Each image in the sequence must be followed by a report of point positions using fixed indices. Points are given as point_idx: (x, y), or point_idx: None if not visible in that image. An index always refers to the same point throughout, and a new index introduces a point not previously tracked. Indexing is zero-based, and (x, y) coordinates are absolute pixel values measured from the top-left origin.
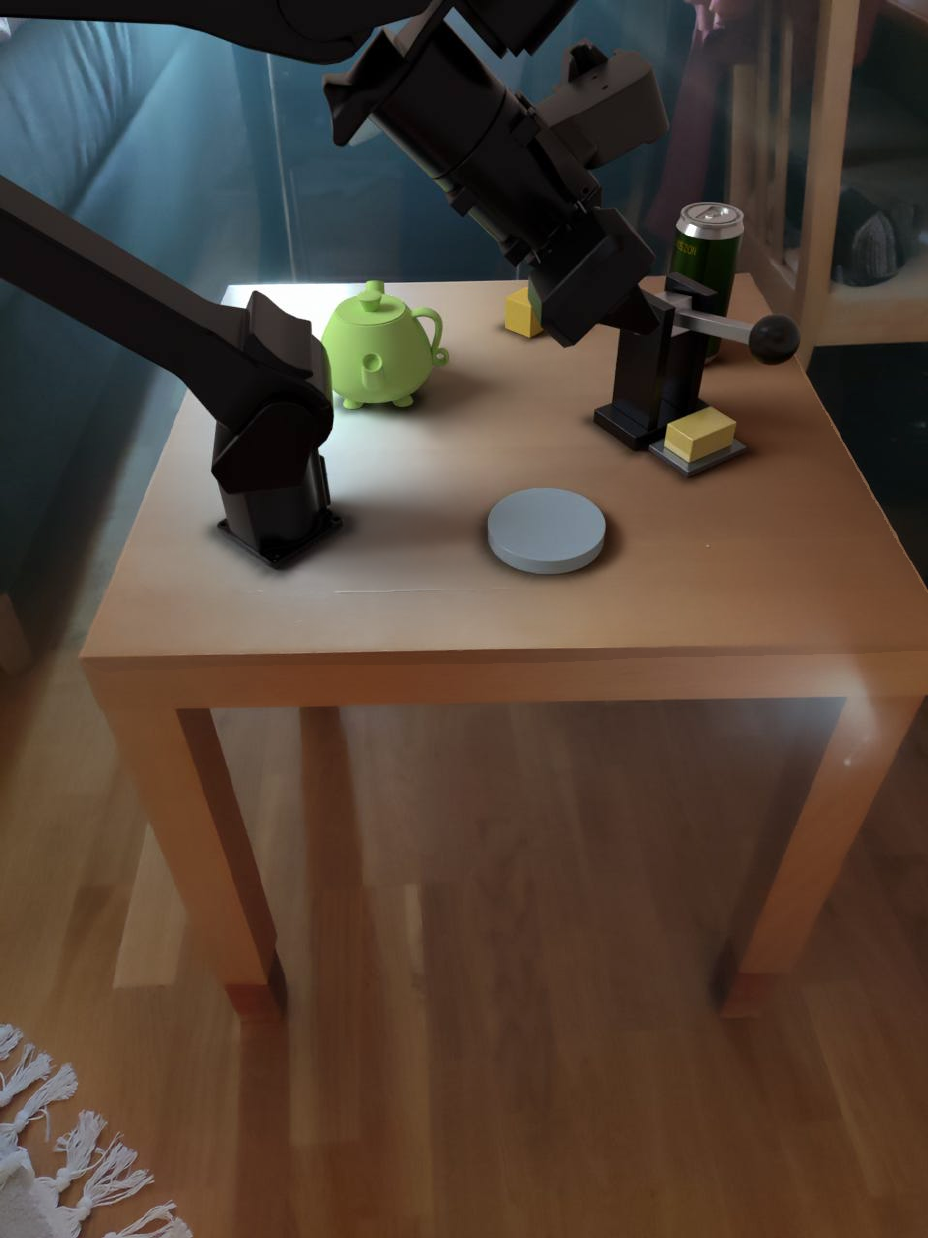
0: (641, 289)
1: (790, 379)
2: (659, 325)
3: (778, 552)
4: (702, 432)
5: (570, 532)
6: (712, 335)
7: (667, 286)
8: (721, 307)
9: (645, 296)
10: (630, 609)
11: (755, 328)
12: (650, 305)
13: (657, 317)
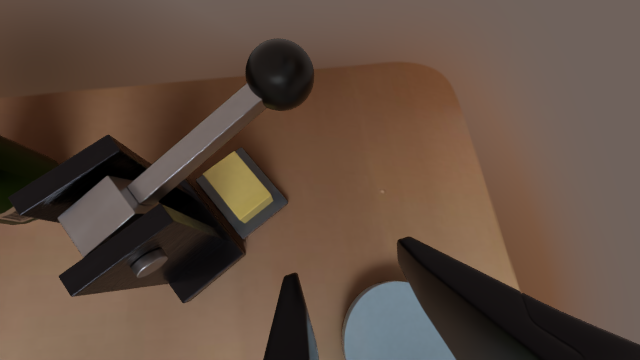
0: (516, 290)
1: (107, 94)
2: (177, 230)
3: (380, 139)
4: (255, 185)
5: (413, 316)
6: (39, 159)
7: (43, 214)
8: (3, 141)
9: (489, 276)
10: (471, 255)
11: (282, 92)
12: (457, 260)
13: (420, 242)
